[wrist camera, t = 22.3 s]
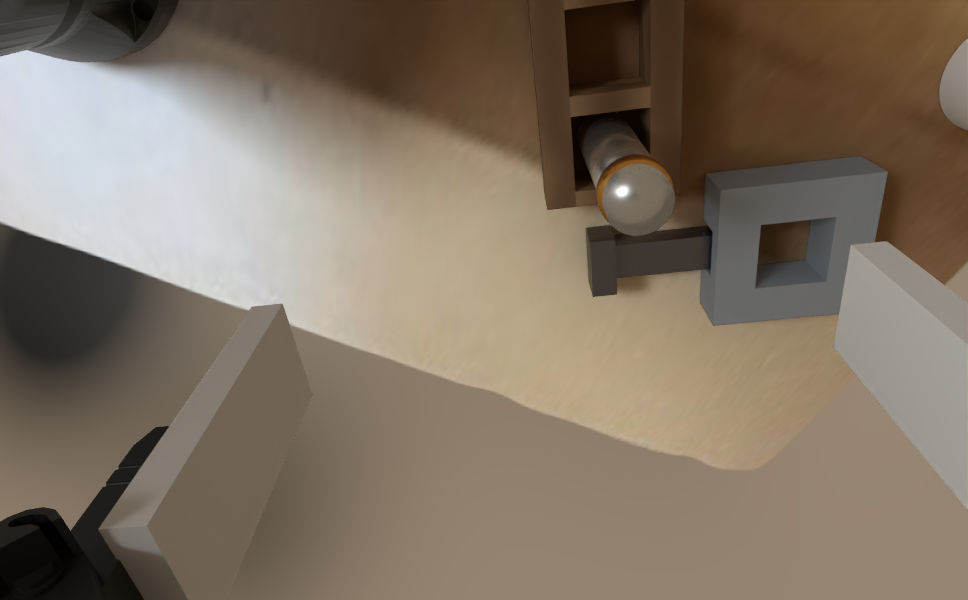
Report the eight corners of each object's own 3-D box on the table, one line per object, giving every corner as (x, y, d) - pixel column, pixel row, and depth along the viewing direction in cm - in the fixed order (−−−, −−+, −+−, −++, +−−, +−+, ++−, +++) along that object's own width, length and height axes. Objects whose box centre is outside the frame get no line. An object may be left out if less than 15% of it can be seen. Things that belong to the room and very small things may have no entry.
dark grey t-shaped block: (588, 280, 55) (592, 296, 53) (585, 227, 53) (590, 242, 50) (704, 268, 54) (714, 284, 52) (706, 214, 52) (717, 228, 49)
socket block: (699, 302, 56) (712, 325, 53) (705, 173, 51) (720, 190, 47) (838, 288, 55) (861, 311, 52) (860, 155, 50) (887, 171, 46)
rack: (544, 192, 52) (547, 209, 48) (526, -10, 44) (529, -6, 41) (667, 177, 51) (680, 194, 47) (670, -30, 44) (685, -28, 40)
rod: (576, 165, 51) (602, 242, 37) (573, 110, 48) (600, 171, 35) (631, 159, 50) (677, 234, 37) (631, 103, 48) (679, 162, 35)
